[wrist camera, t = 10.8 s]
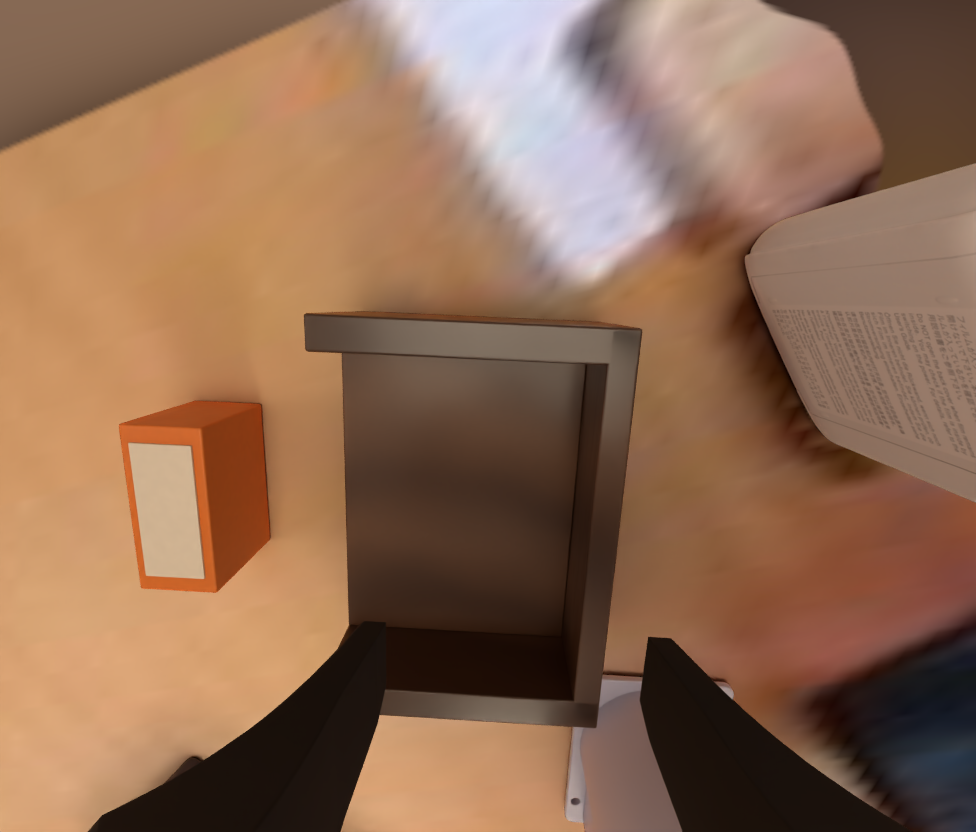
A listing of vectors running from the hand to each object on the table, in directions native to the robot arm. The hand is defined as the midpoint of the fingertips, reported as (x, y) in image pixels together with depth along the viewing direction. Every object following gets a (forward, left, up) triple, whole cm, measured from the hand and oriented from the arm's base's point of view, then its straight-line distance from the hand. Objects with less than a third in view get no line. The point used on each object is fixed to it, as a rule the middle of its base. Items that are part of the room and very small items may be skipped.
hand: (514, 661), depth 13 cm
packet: (+1, +13, -10) cm, 17 cm away
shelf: (+1, +2, -10) cm, 11 cm away
